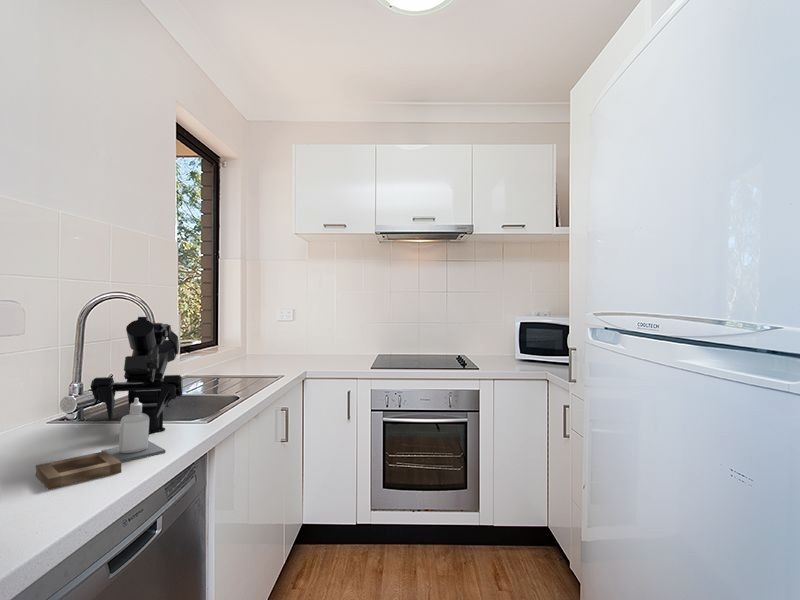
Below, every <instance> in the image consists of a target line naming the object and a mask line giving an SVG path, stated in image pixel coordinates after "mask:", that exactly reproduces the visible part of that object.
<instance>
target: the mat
mask: <svg viewBox="0 0 800 600" xmlns="http://www.w3.org/2000/svg"><path fill="white" fill-rule="evenodd" d="M103 451H106V452H107V453H109V454H110V455H112V456H113V457H115V458H116V459H117V460H119V461H120V462H122V463H124V462H130V461H134V460H139V459H143V458H147V456H148V457H151V456H150V455H152V456H155V455H154V454H157V455H160V453H161V454H165V453H166V449H165V448H163V447H161V446H159V445H157V444H156V443H154V442H152V441H150V440H148V447H147V449H145V450H143V451H139V452H134V453H121V452H120V451H119V446H115V447H111V448H109V447H108V448H104V449H101V451H100V452H103Z"/></svg>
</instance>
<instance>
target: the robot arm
mask: <svg viewBox="0 0 800 600" xmlns="http://www.w3.org/2000/svg"><path fill="white" fill-rule="evenodd" d="M171 326H172V325H171V324H168V323H163V322H151V321H150V320H148V316H138V317H137V319H136V320H132V321H131V322H129V324H128V325H126V327H125V331H126V334H127V338H128V344H129V348H130V349H131V350H132V353H131V355H127V356H125V359H124V367H123V372H124V375H123V377H124V380H126V381H120V382H119V381H118V382H115V380H114V377H113V376H107V377H105V376H102V377H95V378H94V379H92V380H91V383H90V389H91V393H92V396H93V399H94V400H96V401H99V402H100V403H102V404H103V403H105V405H106V410H107V411H106V412H107V416H108V420H109V422H110V421H113V417H114V412H115V406H116V404H115V403H116V399H115V397H116V393H117V392H127V394H128V395H127V398H128V399H127V401H128V410H129V411H130V404H132V403H134V400H135V398H138V399H139V403H142V413H144V414H147V415H148V416H149V434H151V433H152V432H153V433H157V431H158V432H163V431H166V427H164V425H163V424H164V409H165V408H169V406H170V402H171V401H172V400H176V399H177V397H181V396H183V391H184V383H183V376H181V374H167V375H166V374H165V372H166V369H167V366H168V363H170V362H174V361H175V360H176V357H177V355H179V354H180V352H179V351H180V345H179V343H180V342H179V341H180V340H179V336H178V335H177V334H176V333H175V332H174V331H173V330H172V327H171ZM164 374H165V375H164Z"/></svg>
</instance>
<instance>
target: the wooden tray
mask: <svg viewBox="0 0 800 600" xmlns="http://www.w3.org/2000/svg"><path fill="white" fill-rule="evenodd" d="M122 464H123V462H120V461H119V460H117V459H116V458H115V457H113V456H112V455H110V454H109V453H107V452H106V451H103V452H101V451H97V452H93V453H89V454H85V455H79V456H75V457H70V458H65V459H59V460H54V461H51V462H45V463H40V464H36V465H35V476H36V478H37V479H38V480H39V481H40V483H42V485H43V486H44V487H45V488H46V489H47V490H49V489H50V490H53V488H54V489H57V487H58V488H62V487H66V486H70V485H75V484H79V483H83V482H86V481H90V480H91V481H92V480H95V479H98V478H103V477H107V476H111V475H115V474H119V473H122ZM61 486H62V487H61Z"/></svg>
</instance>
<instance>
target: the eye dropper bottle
mask: <svg viewBox="0 0 800 600" xmlns="http://www.w3.org/2000/svg"><path fill="white" fill-rule="evenodd" d="M149 434H150V433H149V416H148V415H147V414H144V413H142V403H139V399H138V398H135V400H134V403H132V404H130V410H129V414H126V415H124V416H122V418H121V419H120V426H119V438H118V447H119V451H120V452H121V453H134V452H139V451H143V450H145V449H147V447H148V441H149Z"/></svg>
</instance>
